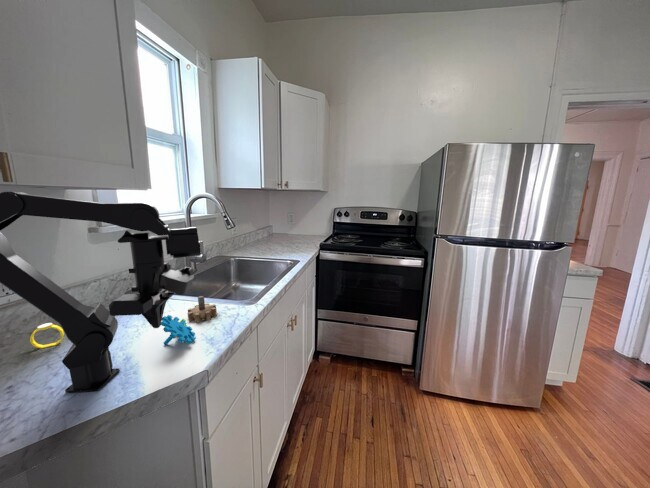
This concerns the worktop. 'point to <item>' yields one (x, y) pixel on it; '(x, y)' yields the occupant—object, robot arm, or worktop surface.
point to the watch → (43, 327)
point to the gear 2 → (202, 311)
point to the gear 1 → (177, 329)
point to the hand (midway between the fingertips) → (157, 327)
